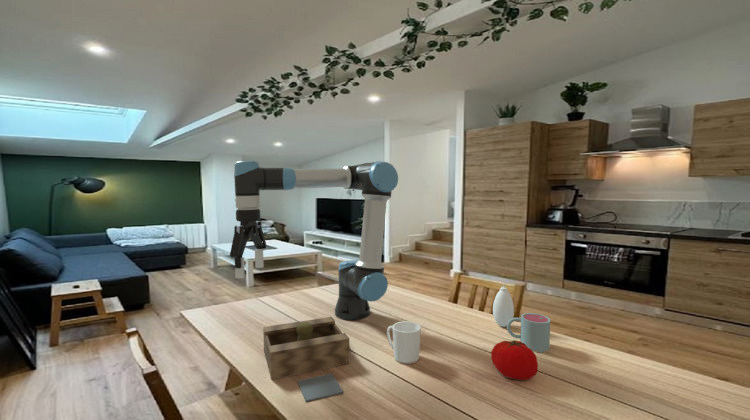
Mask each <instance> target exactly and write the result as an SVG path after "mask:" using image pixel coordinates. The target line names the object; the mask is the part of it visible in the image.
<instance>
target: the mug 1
mask: <svg viewBox="0 0 750 420" xmlns="http://www.w3.org/2000/svg"><path fill="white" fill-rule="evenodd" d="M421 328H422V327H421V325H420V324H419V323H416V322H413V321H409V320H405V321H403V320H402V321H399V322H395V323H394V324H393V325H389V326H388V327H387V329H386V336H387V340H388V343H389V346H390V347H391V349H392V350H393V358H394V361H396V362H397V363H399V362H400V363H399V364H402V363H403V365H411V364H412V363H413V364H415V363H417V362H418V361H419V359H420V348H421V347H420V344H421ZM391 329H392V339H391V335H390V330H391Z"/></svg>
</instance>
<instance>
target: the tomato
mask: <svg viewBox="0 0 750 420" xmlns="http://www.w3.org/2000/svg"><path fill="white" fill-rule="evenodd" d="M526 345H527V344H524V343H522V342H521V341H520V340H516V339H513V340H511V341H508V340H501V341H500V342H497V343H496V344H494V346H493V348H492V349H491V353H490V354H491V357H490V358H491V361H492V364H493V365H494V367H495V368H496V369H497V371H499V372H500V373H501V374H502V376H503V377H505V378H509V379H513V380H520V381H521V380H522V381H527V380H530V379H532V378H533V377H535V376H536V375H537V373H538V367H539V364H538V358H537V355H536V354H535V352H533V351H532V350H531V349H530V348H528V347H527V346H526Z"/></svg>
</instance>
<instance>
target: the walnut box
mask: <svg viewBox="0 0 750 420" xmlns="http://www.w3.org/2000/svg"><path fill="white" fill-rule="evenodd" d="M302 322H309V323H311V324H312V326H313V331H312V333H311V336H312V339H308V340H302V341H298V333H297V330H296V328H297V326H298V324H300V323H302ZM262 329H263V330H262V331H263V333H262V334H263V351H264V357H265V360H266V365H267V368H268V373H269V376H270V380H272V381H273V380H276V379H282V378H286V377H291V376H295V375H300V374H305V373H310V372H314V371H320V370H325V369H328V368H329V369H330V368H334V367H339V366H343V365H347V364H348V365H349V364H350V337H349V336H348V335H347V333H346V332H343V331H341V329H340V328H339V326H338V325H336V320H335V319H334V318H333V316H328V317H320V318H314V319H307V320H300V321H293V322H287V323H281V324H274V325H268V326H263V327H262Z"/></svg>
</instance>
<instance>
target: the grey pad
mask: <svg viewBox="0 0 750 420" xmlns="http://www.w3.org/2000/svg"><path fill="white" fill-rule="evenodd" d="M297 384H298V386H299V388H300V392H301V394H302V396H303V399H304V402H305V403H307V402H312V401H317V400H318V399H319V400H320V399H323V398H329V397H332V396H336V395H341V394H344V391H343V390H342V388H341V386H340V384H339V382H338V380H337V379H336V377H335V376H334V374H333V373H327V374H326V373H325V374H323V375H322V374H321V375H318V376H314V377H309V378H305V379H299V380H297Z"/></svg>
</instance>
